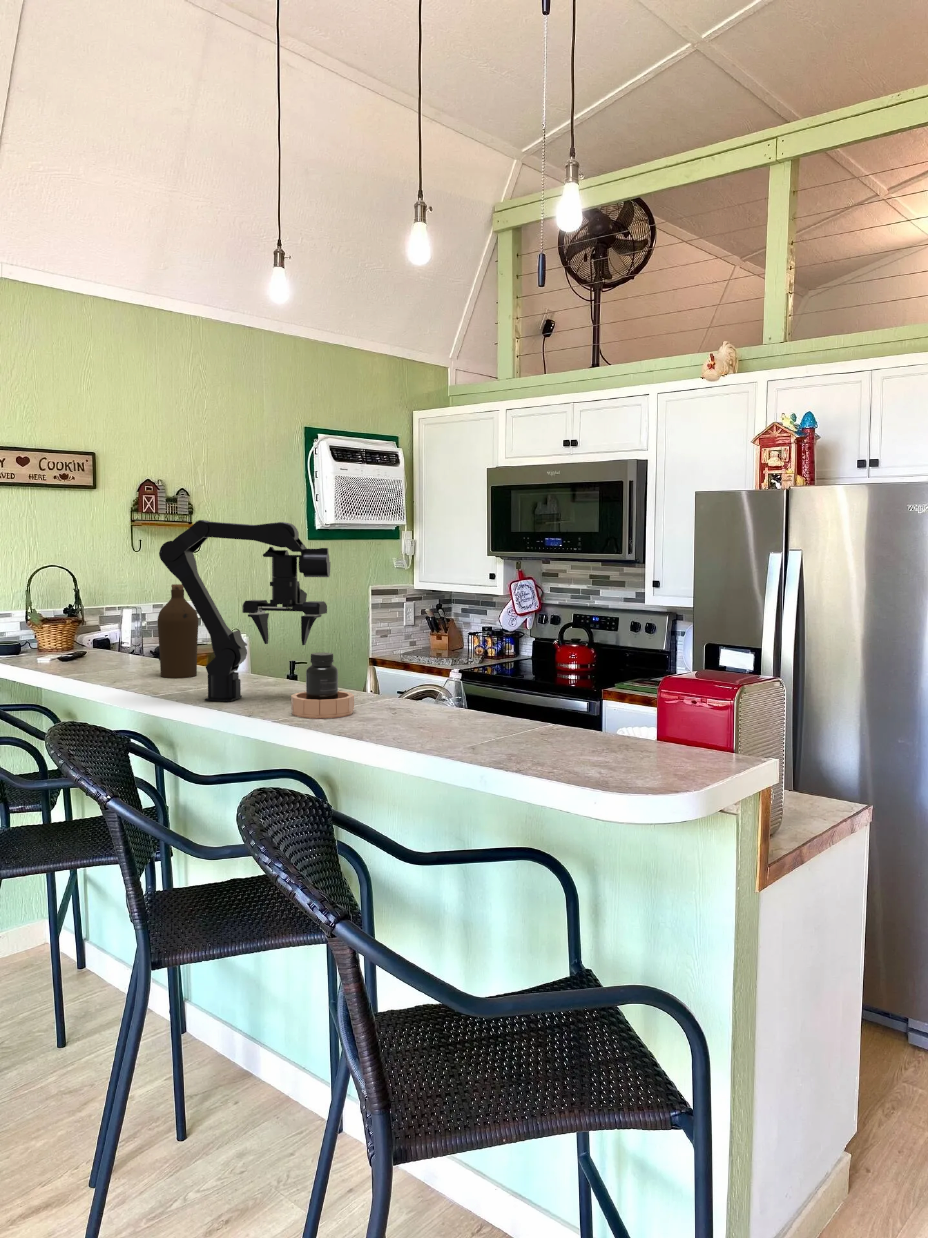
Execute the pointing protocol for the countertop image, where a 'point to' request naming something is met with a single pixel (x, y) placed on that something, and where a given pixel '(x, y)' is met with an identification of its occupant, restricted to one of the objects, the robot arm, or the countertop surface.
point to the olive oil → (178, 636)
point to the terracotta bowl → (322, 706)
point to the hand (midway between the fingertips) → (285, 644)
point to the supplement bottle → (322, 677)
